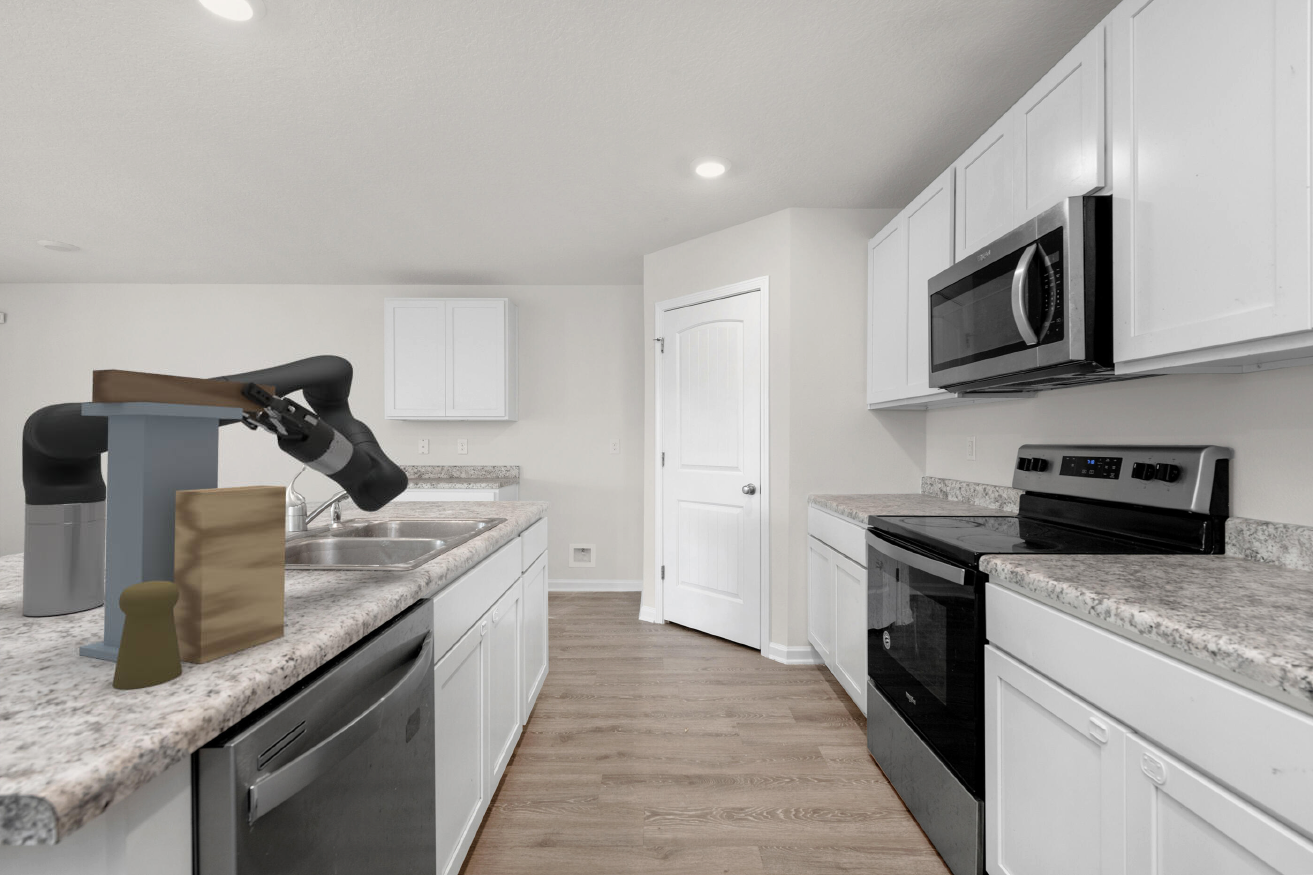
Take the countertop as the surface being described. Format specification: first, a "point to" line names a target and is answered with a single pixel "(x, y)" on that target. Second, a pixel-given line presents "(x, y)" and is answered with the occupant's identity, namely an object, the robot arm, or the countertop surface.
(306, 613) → the countertop surface
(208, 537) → the oak post
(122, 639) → the cork
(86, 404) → the blue grey stand
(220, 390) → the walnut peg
